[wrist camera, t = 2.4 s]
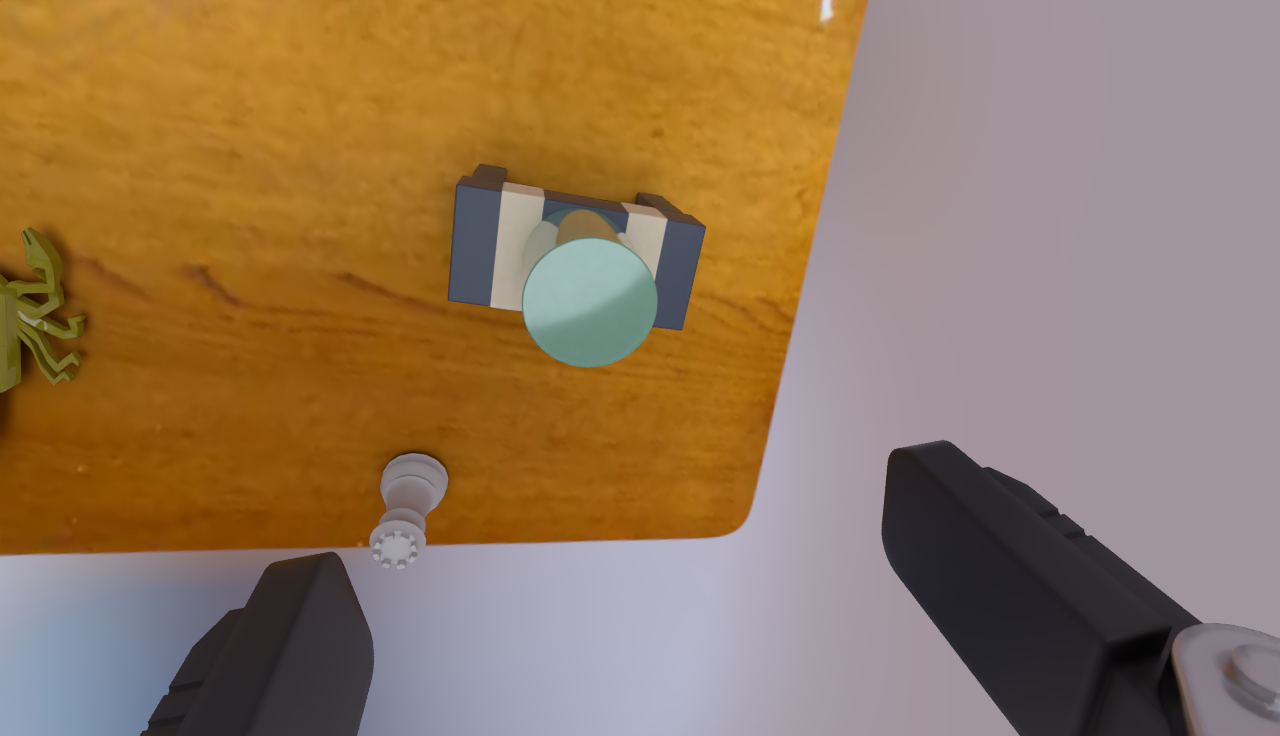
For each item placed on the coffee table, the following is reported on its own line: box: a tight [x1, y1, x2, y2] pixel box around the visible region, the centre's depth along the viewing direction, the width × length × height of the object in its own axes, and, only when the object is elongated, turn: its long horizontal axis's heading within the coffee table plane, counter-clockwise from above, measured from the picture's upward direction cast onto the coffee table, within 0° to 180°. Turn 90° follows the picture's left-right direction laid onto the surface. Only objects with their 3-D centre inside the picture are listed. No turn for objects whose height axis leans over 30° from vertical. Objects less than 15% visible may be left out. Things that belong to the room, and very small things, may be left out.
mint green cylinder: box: [522, 208, 658, 367], centre depth 27 cm, size 5×5×6 cm
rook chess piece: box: [369, 453, 448, 569], centre depth 40 cm, size 4×4×8 cm
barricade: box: [448, 164, 706, 330], centre depth 34 cm, size 12×6×9 cm, turn 79°
